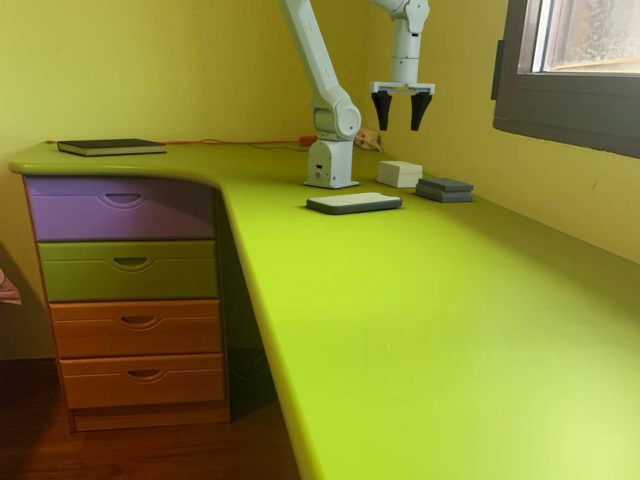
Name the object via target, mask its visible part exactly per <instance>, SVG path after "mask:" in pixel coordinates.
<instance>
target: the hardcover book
mask: <svg viewBox="0 0 640 480" xmlns="http://www.w3.org/2000/svg"><path fill="white" fill-rule="evenodd" d="M56 146H57V150H58V151H59V152H62V153H63V152H64V153H68V154H72V155H77V156H80V157H85V158H94V157H114V156H115V157H116V156H131V155H133V156H134V155H135V156H136V155H152V154H166V153H167V151H166V147H165V146H167V144H166V143H163V142H159V141H152V140H147V139H141V138H108V139H83V140H82V139H81V140H78V139H77V140H58V141H57V142H56Z"/></svg>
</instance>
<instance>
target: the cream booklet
mask: <svg viewBox="0 0 640 480" xmlns="http://www.w3.org/2000/svg"><path fill="white" fill-rule="evenodd" d="M423 167H424V166H422V165H420V164H415V163H411V162H407V161H402V160H380V161H379V166H378V168H381V169H385V170H388V171H392V172H396V173H399V174H404V173H422V174H423Z"/></svg>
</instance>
